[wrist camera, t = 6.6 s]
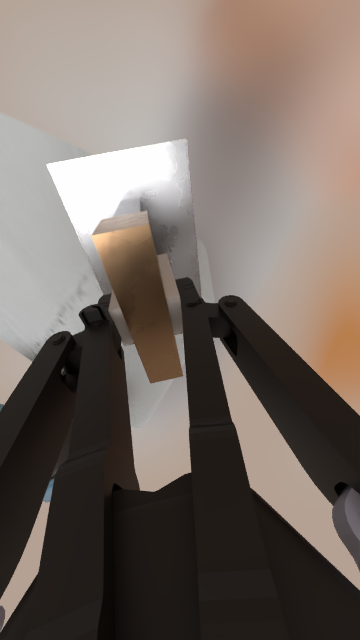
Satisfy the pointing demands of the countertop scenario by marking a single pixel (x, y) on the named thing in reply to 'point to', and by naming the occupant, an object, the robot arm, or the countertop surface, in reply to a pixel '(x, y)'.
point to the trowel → (136, 236)
